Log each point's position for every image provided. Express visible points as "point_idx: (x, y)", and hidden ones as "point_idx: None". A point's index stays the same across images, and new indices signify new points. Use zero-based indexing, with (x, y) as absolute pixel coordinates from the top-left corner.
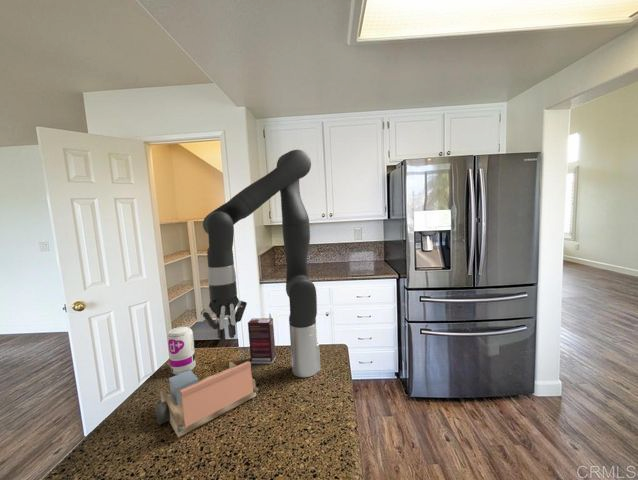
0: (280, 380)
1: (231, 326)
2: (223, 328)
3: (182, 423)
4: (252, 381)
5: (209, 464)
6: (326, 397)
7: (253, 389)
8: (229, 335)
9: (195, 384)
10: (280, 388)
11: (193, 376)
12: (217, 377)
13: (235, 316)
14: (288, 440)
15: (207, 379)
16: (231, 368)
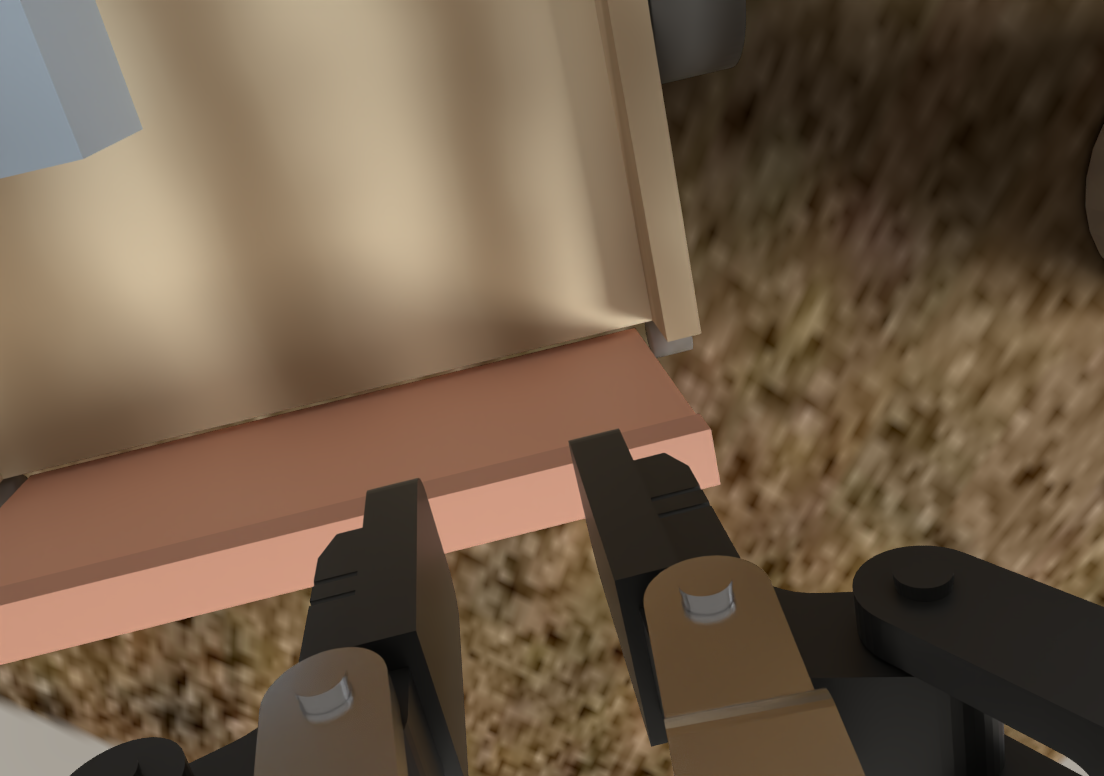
0: (940, 182)
1: (657, 744)
2: (447, 767)
3: (10, 475)
4: (672, 340)
5: (228, 735)
6: (1068, 579)
7: (652, 340)
8: (576, 473)
9: (36, 612)
10: (876, 300)
11: (11, 54)
12: (292, 586)
13: (936, 666)
14: (670, 773)
15: (175, 581)
16: (477, 492)
